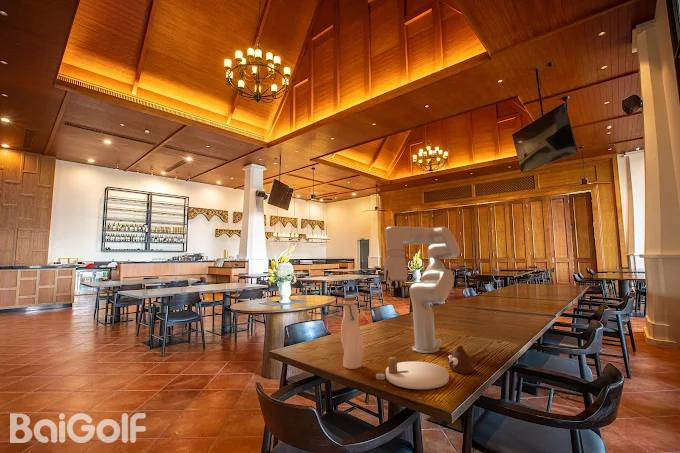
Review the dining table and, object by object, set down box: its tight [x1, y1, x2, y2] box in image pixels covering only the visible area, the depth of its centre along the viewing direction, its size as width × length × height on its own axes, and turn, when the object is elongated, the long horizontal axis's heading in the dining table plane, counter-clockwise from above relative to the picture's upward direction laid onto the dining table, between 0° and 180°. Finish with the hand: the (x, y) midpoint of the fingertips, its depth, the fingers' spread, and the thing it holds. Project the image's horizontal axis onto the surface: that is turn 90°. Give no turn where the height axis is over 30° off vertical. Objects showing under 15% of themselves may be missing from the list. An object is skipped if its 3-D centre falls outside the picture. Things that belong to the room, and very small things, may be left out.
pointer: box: [375, 373, 386, 380], centre depth 116 cm, size 3×1×2 cm, turn 82°
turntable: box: [385, 356, 450, 390], centre depth 114 cm, size 22×22×7 cm
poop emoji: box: [447, 345, 475, 375], centre depth 122 cm, size 10×8×9 cm
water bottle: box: [340, 295, 364, 370], centre depth 132 cm, size 10×9×28 cm
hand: (397, 296), depth 138 cm, fingers closed
